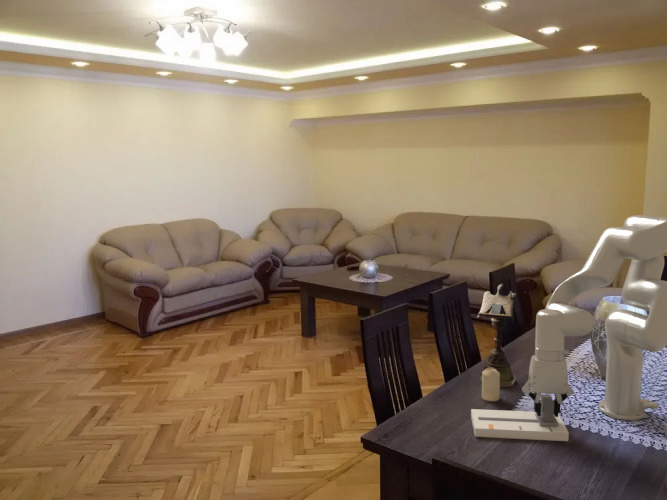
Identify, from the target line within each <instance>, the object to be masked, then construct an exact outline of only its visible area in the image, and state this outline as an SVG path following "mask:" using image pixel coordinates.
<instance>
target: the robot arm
mask: <svg viewBox="0 0 667 500" xmlns="http://www.w3.org/2000/svg"><path fill="white" fill-rule="evenodd" d="M664 253H667V217H664V216H655V215H654V216H653V215H646V214H642V215H641V214H636V215H631V216H628V217H627V218H626V219H625V220H624V222H623V226H610V227H607V228H605V229H604V231H603V232H602V233H601V235H600V236H599V237H598V239H597V242H596V244H595V245H594V247H593V249H592V250H591V252H590V254H589V256H588V257H587V260H586V261H585V263H584V265H583V267H582V268H581V269H580V270H578V271H577V272H575V273H574V274H572V275H571V276H570V277H568V278H567V279H566V280H564V281H563V282H562V283H560V284H559V285H558V286H557V287H556V288H555V290H554V291H553V293H552V294H551V296H550V298H549V300H548V301H547V303H546V306H545V308H544V309H540V310H539V311H538V312H537V313H536V317H535V336H534V337H535V338H534V339H535V346H534V354H533V355H532V356H531V358H530V361H529V366H528V367H529V368H528V377H527V381H526V382H525V384H524V385H523V386H522V388H521V391H522V393H524V394H525V395H527V396H529V398H530V399H531V400H533V401H534V402H533V412H536V413H537V415H538V416H541V394H544V395H551V394H552V395H554V400H553V401H554V415H555V417H558V414H561V406H562V404H563V402H564V401H565V400H566V399H567V398H568V397H571V396H572V395H574V394H575V391H574V389H573V388H572V387H571V385H570V384H569V374H568V364H567V359H566V356H569V355H570V350H569V349H565V338H566V337H581V336H582V337H583V336H587V335H589V334H590V333H591V332H592V331H593V330H594V328H595V326H596V325H595V324H596V321H595V318H594V316H593V314H591V313H590V312H589V311H587V310H586V309H585V310H584V309H582V308H579V307H576V306H573V305H571V304H572V302H573V301H574V300H575V299H576V298H577V297H578V296H579V295H581V294H583V293H585V292H588V291H592V290H596V289H600V288H604V287H607V286H609V285H611V284H612V282H613V281H614V279H615V278H616V275H617V274H618V272H619V270H620V268H621V267H622V265H623V264H624V261H625V260H626V259H627V260H628V259H629V260H631V261H630V265H629V268H628V272H627V275H626V277H625V280H624V284H623V285H622V286H623V287H622V290H621V299H622V302H624V303H625V304H626V305H628V306H631V307H633V308H636V309H639V310H644V311H646V312H647V311H648V315H647V314H643V313H641V312H636V311H632V310H628V309H614V310H613V311H611V312H609V313H608V315H607V317H606V319H605V323H604V328H605V329H604V330H605V335H606V336H605V337H606V343H607V345H606V346H607V348H606V349H607V350H606V352H607V354H606V369H605V371H606V372H605V373H606V374H605V386H604V387H605V389H604V399H603V400H601V401H600V402H598V410H600V412H601V413H603V414H605V415H607V416H608V417H612V418H614V419H617V420H624V421H639V420H641V419H644V418H645V417H646V410H647V409H651V410H653V409H654V410H655V409H658V408H659V404H658V402H656V401H650V399H647V398H646V399H645V398H644V399H643V398H642V397H641V396H642V381H643V379H642V378H643V366H644V355H643V352H642V350H644V351H646V352H652V353H657V352H660V351H663V349H665V347H666V346H667V281H666V280H662V279H661V278H662V274H663V272H664V271H663V270H664V269H665V268H664V267H665V257H664Z"/></svg>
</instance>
